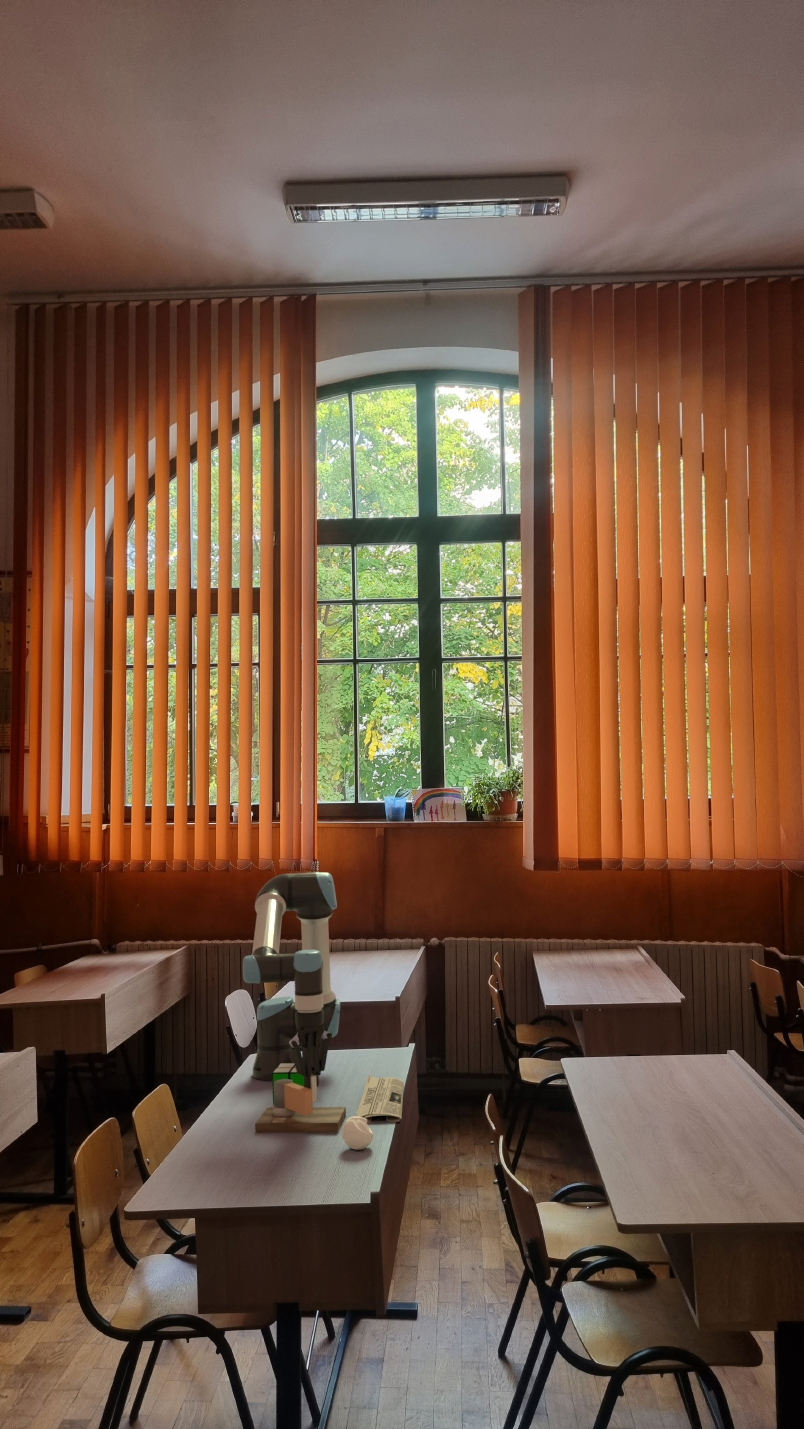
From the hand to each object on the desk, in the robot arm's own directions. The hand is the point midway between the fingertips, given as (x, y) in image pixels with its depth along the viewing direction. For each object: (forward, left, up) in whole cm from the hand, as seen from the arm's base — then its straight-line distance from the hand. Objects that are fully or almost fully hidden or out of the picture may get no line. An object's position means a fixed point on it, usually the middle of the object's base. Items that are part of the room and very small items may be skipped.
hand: (311, 1100), depth 257 cm
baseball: (+16, +15, -7) cm, 23 cm away
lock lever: (-1, -5, -2) cm, 6 cm away
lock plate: (-3, -3, -7) cm, 8 cm away
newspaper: (-21, +16, -8) cm, 27 cm away
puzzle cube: (-21, -9, -7) cm, 24 cm away
